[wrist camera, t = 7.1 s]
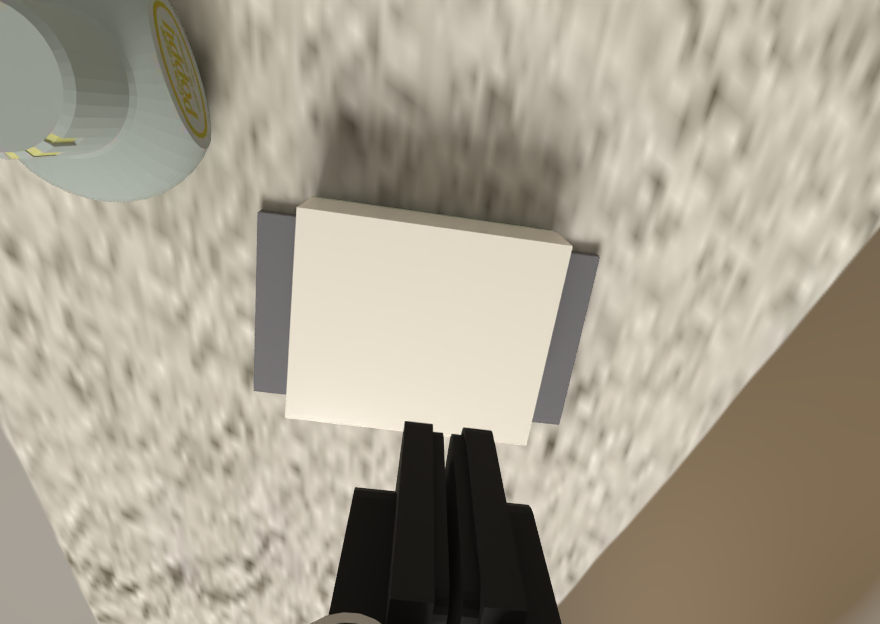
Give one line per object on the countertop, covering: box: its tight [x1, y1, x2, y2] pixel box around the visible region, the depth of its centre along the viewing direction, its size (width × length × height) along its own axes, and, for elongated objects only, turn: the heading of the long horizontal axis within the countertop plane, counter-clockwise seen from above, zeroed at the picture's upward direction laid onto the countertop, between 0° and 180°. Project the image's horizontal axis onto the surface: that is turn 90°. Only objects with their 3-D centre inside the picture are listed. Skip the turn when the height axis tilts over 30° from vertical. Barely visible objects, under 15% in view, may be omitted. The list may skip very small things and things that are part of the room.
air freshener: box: [0, 0, 211, 202], centre depth 24 cm, size 11×8×10 cm
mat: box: [254, 210, 600, 425], centre depth 33 cm, size 12×20×1 cm, turn 82°
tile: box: [285, 196, 573, 446], centre depth 31 cm, size 4×14×12 cm
